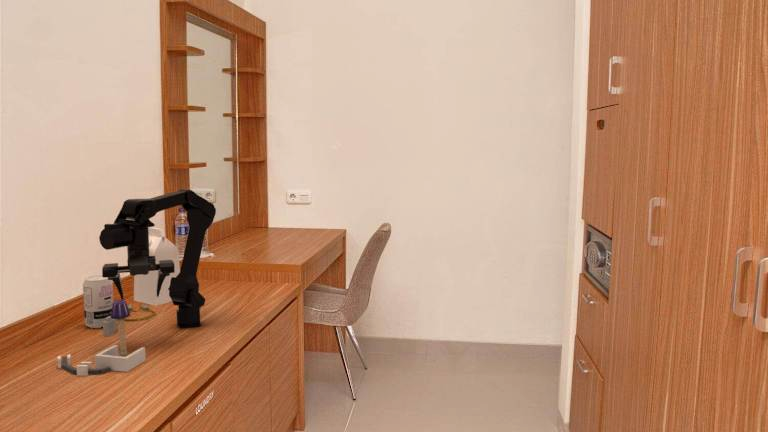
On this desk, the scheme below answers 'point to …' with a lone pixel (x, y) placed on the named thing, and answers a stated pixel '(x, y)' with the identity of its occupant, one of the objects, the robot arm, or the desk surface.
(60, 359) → the clip
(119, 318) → the toy lamp
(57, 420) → the desk surface
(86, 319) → the supplement can
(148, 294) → the milk
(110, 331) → the lighter
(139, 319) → the extension cord
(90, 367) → the clip
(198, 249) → the robot arm
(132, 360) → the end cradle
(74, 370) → the cable run
